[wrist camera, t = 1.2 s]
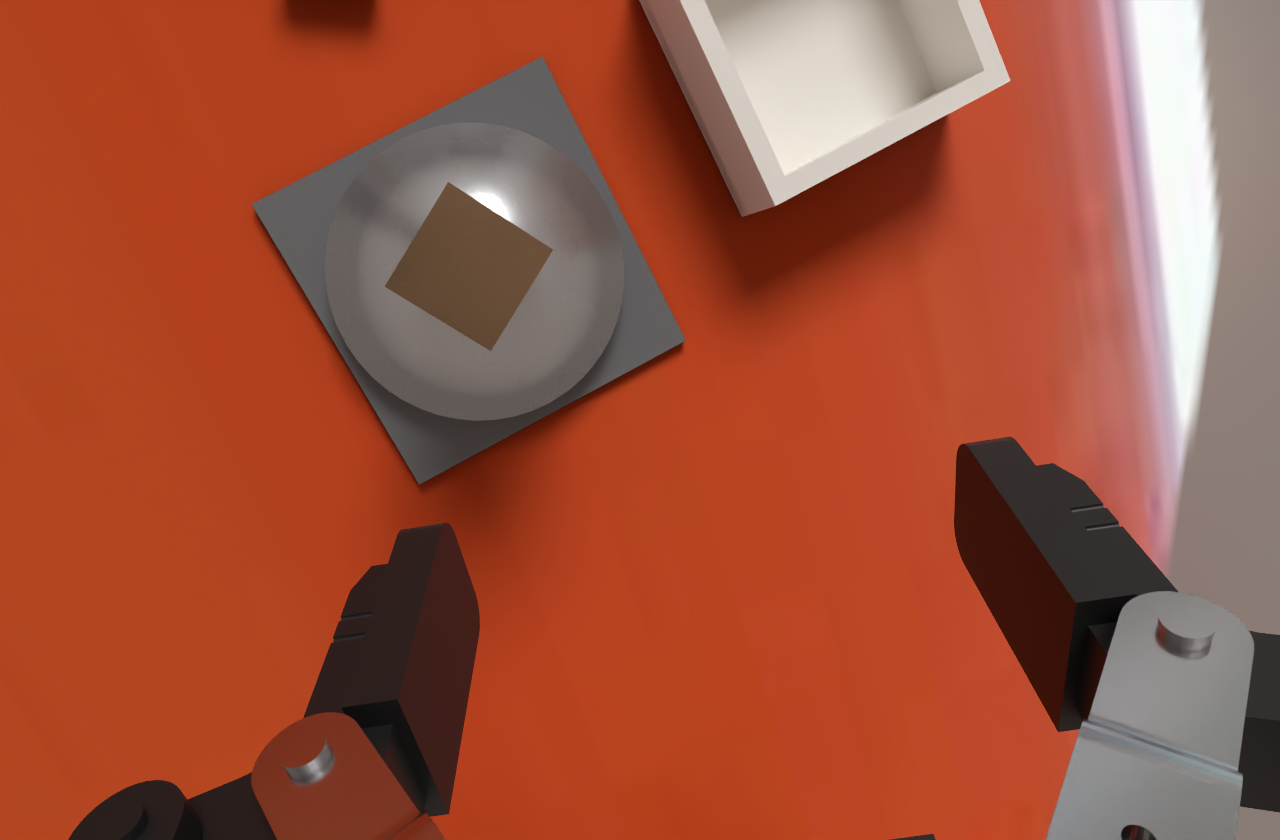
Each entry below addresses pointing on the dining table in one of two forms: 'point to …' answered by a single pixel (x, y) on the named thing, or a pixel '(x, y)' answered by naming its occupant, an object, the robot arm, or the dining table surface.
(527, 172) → the lid
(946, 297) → the dining table surface
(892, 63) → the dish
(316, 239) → the mat
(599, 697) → the dining table surface
